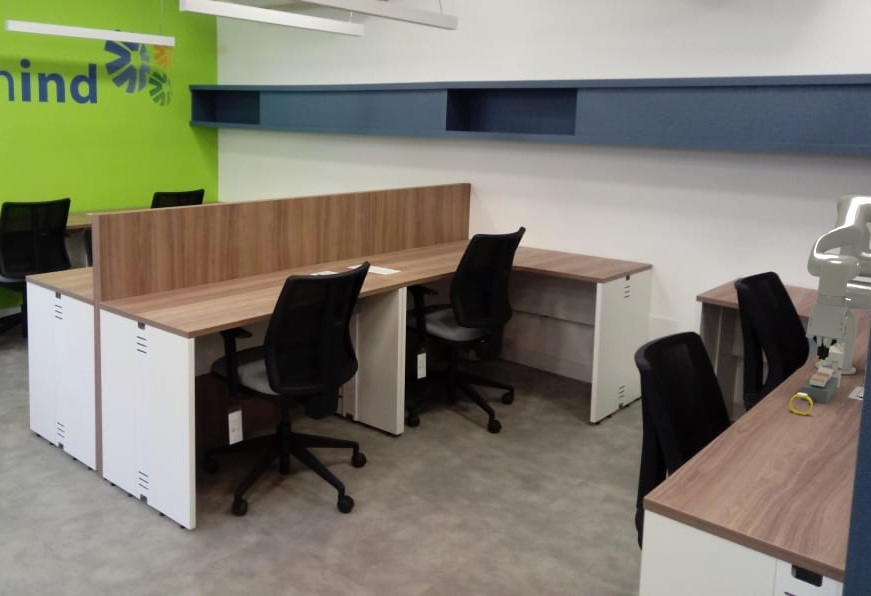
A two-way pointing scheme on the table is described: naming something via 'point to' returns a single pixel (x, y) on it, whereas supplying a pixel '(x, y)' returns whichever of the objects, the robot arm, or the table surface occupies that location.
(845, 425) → the table surface
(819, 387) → the rocker switch panel
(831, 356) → the ink cartridge box
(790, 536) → the table surface
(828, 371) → the rocker
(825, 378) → the plate
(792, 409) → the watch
